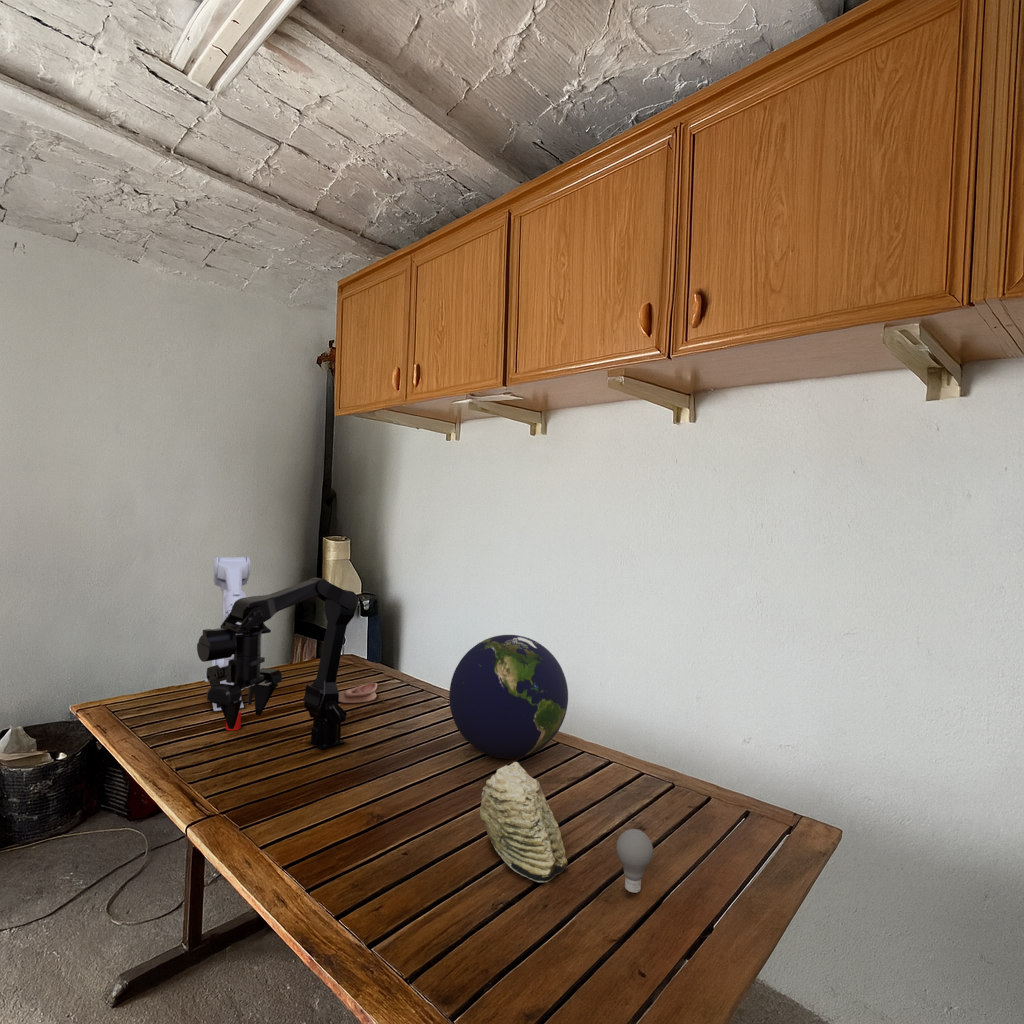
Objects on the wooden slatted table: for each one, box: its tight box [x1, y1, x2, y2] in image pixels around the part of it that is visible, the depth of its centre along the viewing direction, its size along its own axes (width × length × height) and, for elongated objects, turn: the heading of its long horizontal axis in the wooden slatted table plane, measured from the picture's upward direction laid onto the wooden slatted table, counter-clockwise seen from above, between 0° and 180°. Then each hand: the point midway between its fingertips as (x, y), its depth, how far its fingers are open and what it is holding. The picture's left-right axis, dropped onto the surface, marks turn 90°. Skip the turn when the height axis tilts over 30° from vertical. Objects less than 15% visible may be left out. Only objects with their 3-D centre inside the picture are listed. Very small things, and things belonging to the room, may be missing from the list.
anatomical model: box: [339, 682, 378, 704], centre depth 199 cm, size 13×4×12 cm
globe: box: [448, 634, 569, 760], centre depth 160 cm, size 30×30×30 cm
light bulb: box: [615, 828, 654, 894], centre depth 106 cm, size 6×6×10 cm
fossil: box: [479, 761, 569, 883], centre depth 114 cm, size 9×18×15 cm, turn 46°
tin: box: [225, 709, 242, 732], centre depth 170 cm, size 4×4×4 cm
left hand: (234, 705), depth 170 cm, fingers open, 7 cm apart
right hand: (245, 721), depth 145 cm, fingers open, 9 cm apart
